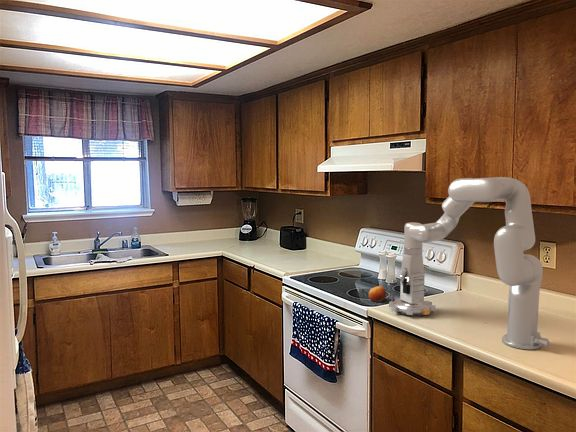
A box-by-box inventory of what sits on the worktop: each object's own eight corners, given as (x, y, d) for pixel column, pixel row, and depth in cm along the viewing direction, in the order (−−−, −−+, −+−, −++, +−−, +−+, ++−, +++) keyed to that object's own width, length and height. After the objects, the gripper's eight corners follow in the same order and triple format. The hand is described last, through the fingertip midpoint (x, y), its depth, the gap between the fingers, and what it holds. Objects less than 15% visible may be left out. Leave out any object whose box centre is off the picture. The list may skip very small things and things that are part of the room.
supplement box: (399, 299, 202) (399, 271, 201) (412, 297, 205) (413, 269, 204) (411, 304, 195) (411, 274, 194) (424, 301, 199) (425, 272, 198)
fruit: (386, 301, 212) (378, 285, 213) (372, 308, 216) (363, 292, 217) (391, 297, 219) (383, 281, 220) (378, 303, 223) (369, 288, 224)
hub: (428, 312, 200) (428, 309, 200) (414, 316, 194) (414, 314, 194) (409, 306, 208) (409, 304, 208) (395, 311, 202) (395, 308, 201)
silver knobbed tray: (415, 299, 213) (415, 285, 213) (445, 311, 196) (445, 295, 195) (380, 305, 206) (380, 289, 205) (408, 317, 188) (408, 301, 187)
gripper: (418, 248, 206) (417, 286, 208) (393, 252, 196) (392, 293, 197) (432, 250, 201) (431, 289, 202) (408, 255, 190) (407, 297, 191)
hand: (412, 291), depth 200 cm, fingers closed on supplement box, 8 cm apart
